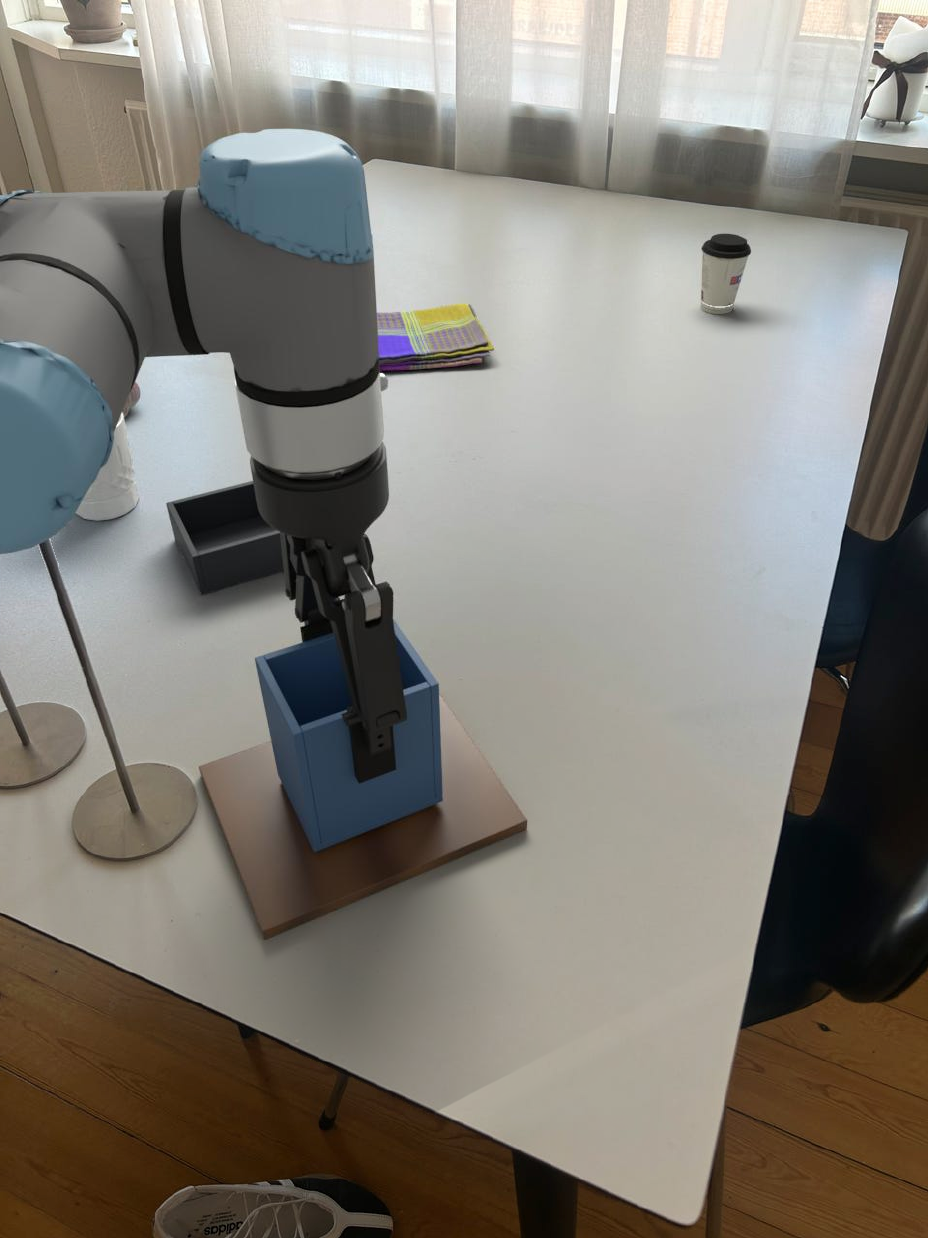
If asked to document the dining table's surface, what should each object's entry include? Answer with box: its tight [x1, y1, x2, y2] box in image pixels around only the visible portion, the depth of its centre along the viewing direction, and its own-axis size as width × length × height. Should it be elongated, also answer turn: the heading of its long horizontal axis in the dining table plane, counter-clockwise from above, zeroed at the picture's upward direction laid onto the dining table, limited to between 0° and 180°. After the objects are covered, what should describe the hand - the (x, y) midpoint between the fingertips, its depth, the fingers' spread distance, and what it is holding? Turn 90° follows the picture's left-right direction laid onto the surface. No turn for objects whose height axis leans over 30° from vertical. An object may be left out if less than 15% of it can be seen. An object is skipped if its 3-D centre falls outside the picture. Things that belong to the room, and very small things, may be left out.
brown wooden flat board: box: [198, 692, 528, 940], centre depth 72 cm, size 20×16×1 cm
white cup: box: [75, 413, 140, 522], centre depth 101 cm, size 8×8×10 cm
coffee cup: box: [700, 233, 752, 315], centre depth 140 cm, size 7×7×10 cm
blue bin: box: [254, 618, 443, 852], centre depth 68 cm, size 10×8×12 cm
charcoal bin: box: [165, 480, 284, 596], centre depth 96 cm, size 12×10×4 cm
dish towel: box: [377, 302, 495, 372], centre depth 133 cm, size 18×24×3 cm
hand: (351, 730), depth 68 cm, fingers closed on blue bin, 8 cm apart
